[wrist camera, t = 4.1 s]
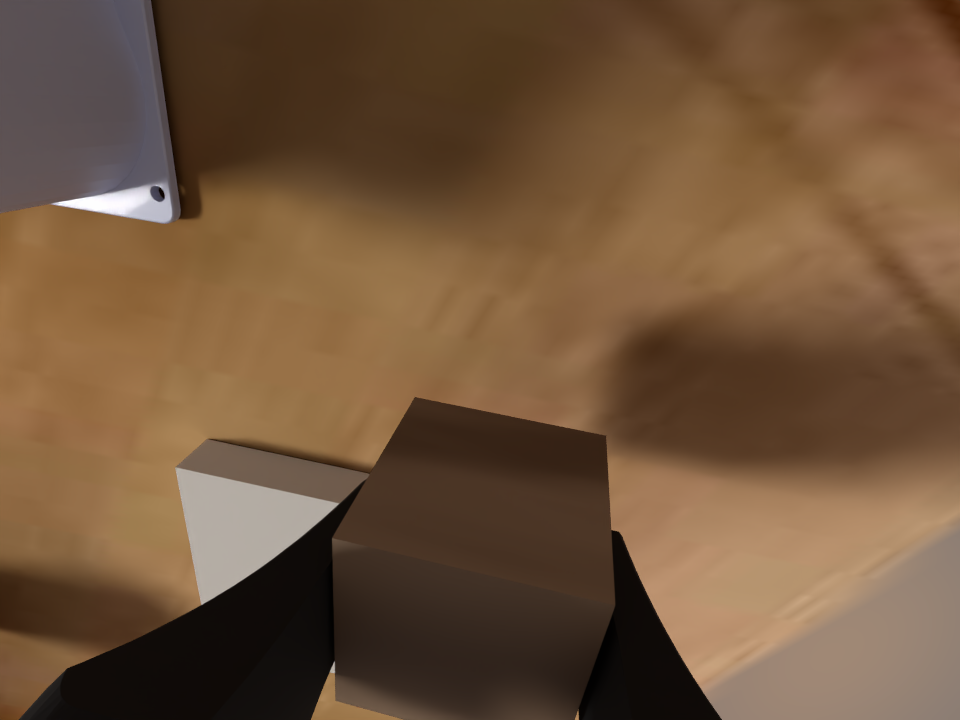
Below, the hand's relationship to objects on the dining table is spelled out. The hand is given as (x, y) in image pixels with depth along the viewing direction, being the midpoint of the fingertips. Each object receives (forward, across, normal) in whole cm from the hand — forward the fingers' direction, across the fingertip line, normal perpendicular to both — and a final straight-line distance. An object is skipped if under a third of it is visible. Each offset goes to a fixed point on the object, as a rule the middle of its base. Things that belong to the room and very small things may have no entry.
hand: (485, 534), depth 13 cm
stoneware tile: (+7, +7, +11) cm, 15 cm away
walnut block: (+2, 0, 0) cm, 2 cm away
